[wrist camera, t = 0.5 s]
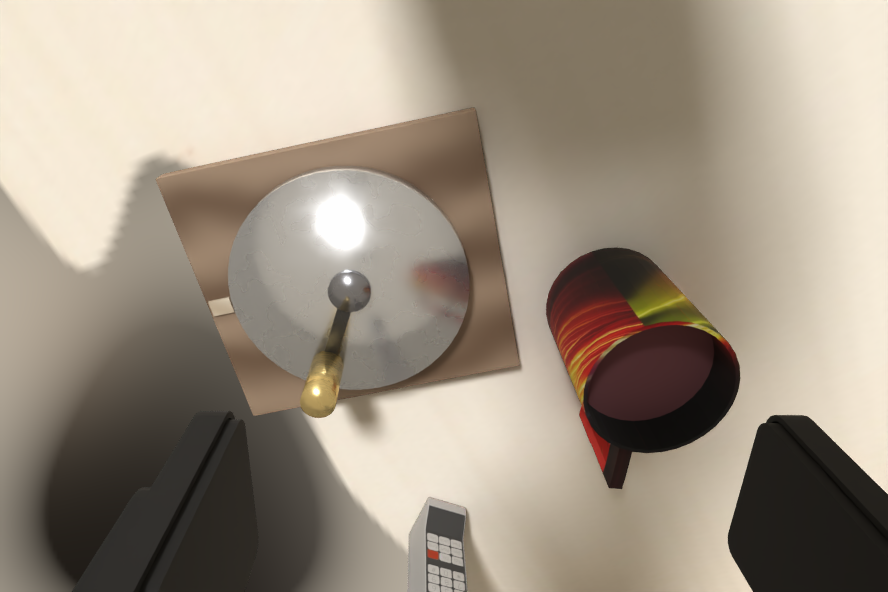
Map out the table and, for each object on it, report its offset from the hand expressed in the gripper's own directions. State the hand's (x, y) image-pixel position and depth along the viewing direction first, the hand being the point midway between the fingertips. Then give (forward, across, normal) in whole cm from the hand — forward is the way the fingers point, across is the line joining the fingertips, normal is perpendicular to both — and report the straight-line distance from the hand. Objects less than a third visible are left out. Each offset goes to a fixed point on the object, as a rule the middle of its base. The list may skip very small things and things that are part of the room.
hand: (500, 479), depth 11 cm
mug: (+35, -14, +14) cm, 40 cm away
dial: (+33, +6, +9) cm, 35 cm away
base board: (+34, +6, +9) cm, 36 cm away
